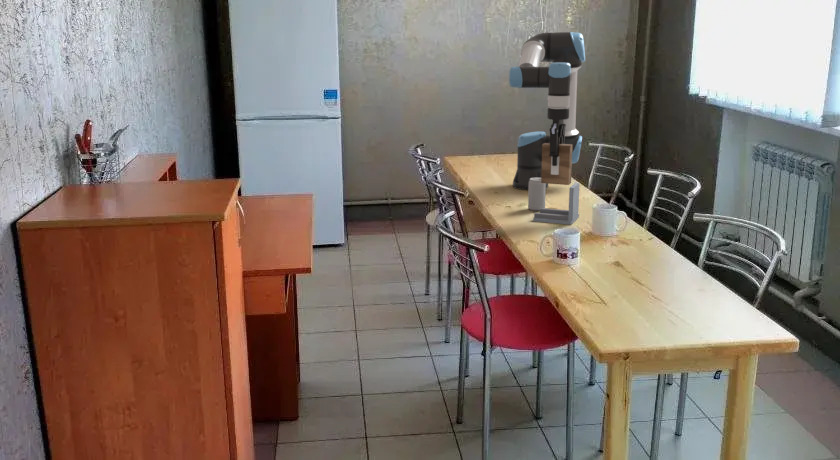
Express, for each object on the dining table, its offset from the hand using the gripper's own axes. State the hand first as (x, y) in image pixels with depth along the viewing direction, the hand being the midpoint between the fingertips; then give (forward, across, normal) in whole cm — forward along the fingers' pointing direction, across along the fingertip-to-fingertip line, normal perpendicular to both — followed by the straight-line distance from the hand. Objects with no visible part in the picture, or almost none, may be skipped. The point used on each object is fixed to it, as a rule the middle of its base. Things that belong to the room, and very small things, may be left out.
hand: (556, 173), depth 282 cm
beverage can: (+17, -12, -10) cm, 23 cm away
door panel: (+4, 0, 0) cm, 4 cm away
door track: (+17, 0, 0) cm, 17 cm away
